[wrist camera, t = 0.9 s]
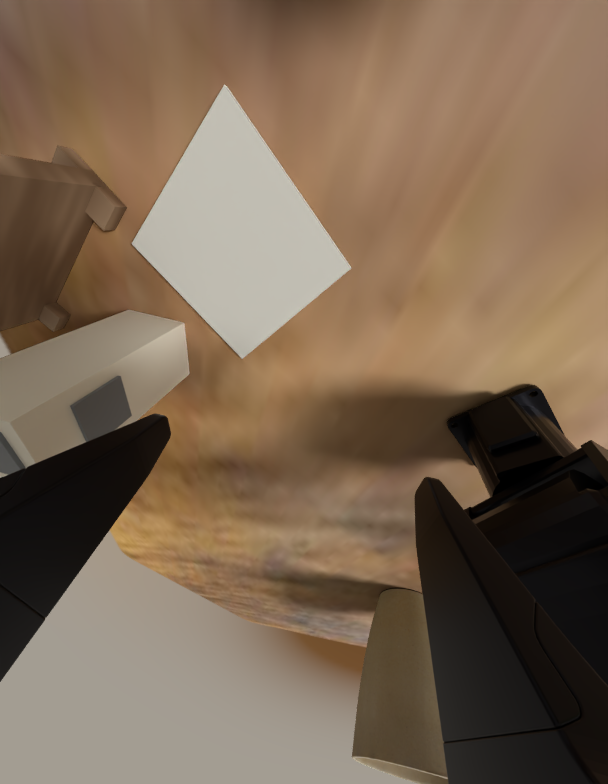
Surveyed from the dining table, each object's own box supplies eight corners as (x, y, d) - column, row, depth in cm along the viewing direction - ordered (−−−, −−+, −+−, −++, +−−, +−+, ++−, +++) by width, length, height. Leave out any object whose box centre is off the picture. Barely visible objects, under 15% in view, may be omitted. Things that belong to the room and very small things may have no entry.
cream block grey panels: (186, 323, 22) (8, 426, 11) (191, 374, 25) (54, 496, 14) (128, 309, 22) (-100, 396, 11) (140, 361, 25) (-33, 470, 14)
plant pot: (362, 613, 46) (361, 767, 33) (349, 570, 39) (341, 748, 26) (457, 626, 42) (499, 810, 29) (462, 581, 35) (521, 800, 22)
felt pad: (351, 267, 17) (351, 268, 17) (243, 356, 22) (242, 358, 22) (228, 87, 14) (224, 84, 13) (135, 243, 19) (131, 243, 19)
